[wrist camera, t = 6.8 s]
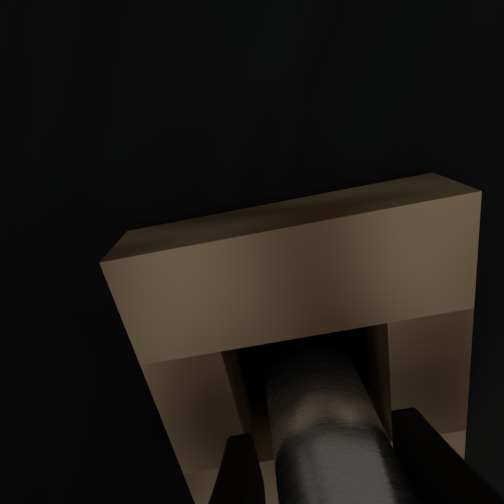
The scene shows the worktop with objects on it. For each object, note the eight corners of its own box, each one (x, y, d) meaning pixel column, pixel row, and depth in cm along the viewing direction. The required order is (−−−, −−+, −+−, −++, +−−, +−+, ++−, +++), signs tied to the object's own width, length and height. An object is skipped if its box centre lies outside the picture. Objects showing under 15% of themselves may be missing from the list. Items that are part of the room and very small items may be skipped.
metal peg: (272, 391, 15) (312, 683, 7) (252, 328, 13) (276, 603, 6) (349, 372, 14) (469, 654, 7) (335, 307, 13) (465, 564, 6)
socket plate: (211, 471, 16) (206, 532, 14) (127, 230, 12) (99, 262, 9) (429, 438, 16) (461, 495, 14) (432, 172, 11) (481, 191, 9)
